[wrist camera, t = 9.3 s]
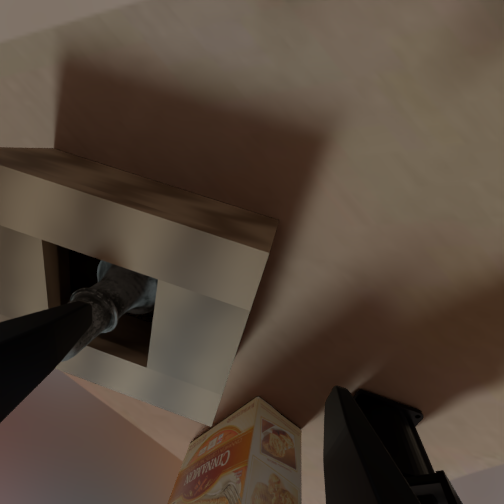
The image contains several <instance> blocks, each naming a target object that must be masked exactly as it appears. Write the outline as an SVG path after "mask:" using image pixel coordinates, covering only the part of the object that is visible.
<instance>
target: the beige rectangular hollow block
mask: <svg viewBox="0 0 504 504" xmlns="http://www.w3.org/2000/svg"><path fill="white" fill-rule="evenodd" d="M278 223H279V220H276V219H273V218H270V217H267V216H264V215H261V214H258V213H254V212H251V211H248V210H245V209H242V208H239V207H236V206H232V205H229V204H226V203H223V202H220V201H217V200H214V199H210V198H207V197H204V196H201V195H198V194H195V193H192V192H188V191H185V190H182V189H179V188H176V187H173V186H170V185H167V184H163V183H160V182H157V181H154V180H151V179H148V178H145V177H141V176H138V175H135V174H132V173H129V172H126V171H123V170H119V169H116V168H113V167H110V166H107V165H104V164H101V163H97V162H94V161H91V160H88V159H85V158H82V157H79V156H75V155H72V154H69V153H66V152H63V151H60V150H57V149H53V148H4V147H0V322H2V321H6V320H10V319H13V318H17V317H20V316H24V315H28V314H31V313H35V312H38V311H42V310H46V309H49V308H53V307H56V306H60V305H64V304H67V303H68V302H70V298H71V296H72V295H71V286H70V265H69V249H71V250H74V251H77V252H80V253H82V254H85V255H88V256H91V257H94V258H97V259H100V260H103V261H106V262H109V263H112V264H115V265H117V266H120V267H123V268H126V269H129V270H132V271H135V272H138V273H141V274H144V275H147V276H150V277H152V278H155V279H158V284H157V291H156V299H155V307H154V315H153V323H149V322H146V321H143V320H141V319H138V318H135V317H132V316H129V315H126V314H123V315H122V316H121V317H120V318H119V319H118V324H117V325H116V327H115V328H114V329H113V330H111V331H110V332H107V333H100V334H99V335H98V336H97V337H96V338H95V339H93V340H92V341H91V342H90V343H89V344H88V345H87V346H86V347H85V348H83V349H82V350H81V351H80V352H79V353H78V354H77V355H75V356H74V357H73V358H71V359H69V360H67V361H63V362H60V363H59V364H58V365H57V366H56V368H55V369H58V370H61V371H63V372H66V373H69V374H71V375H74V376H77V377H79V378H82V379H85V380H87V381H90V382H93V383H95V384H98V385H101V386H103V387H106V388H109V389H111V390H114V391H117V392H119V393H122V394H125V395H127V396H130V397H133V398H135V399H138V400H141V401H143V402H146V403H149V404H151V405H154V406H157V407H159V408H162V409H165V410H167V411H170V412H173V413H175V414H178V415H181V416H183V417H186V418H189V419H191V420H194V421H197V422H199V423H202V424H205V425H207V426H210V427H211V426H212V423H213V420H214V417H215V414H216V411H217V408H218V405H219V402H220V399H221V396H222V394H223V391H224V388H225V385H226V382H227V379H228V376H229V373H230V370H231V367H232V364H233V361H234V358H235V355H236V352H237V349H238V346H239V343H240V340H241V337H242V334H243V331H244V328H245V325H246V322H247V319H248V316H249V313H250V310H251V307H252V304H253V301H254V298H255V295H256V292H257V289H258V286H259V283H260V280H261V277H262V274H263V271H264V268H265V265H266V262H267V259H268V256H269V253H270V250H271V246H272V243H273V240H274V236H275V233H276V229H277V226H278Z"/></svg>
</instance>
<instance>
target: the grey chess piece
mask: <svg viewBox="0 0 504 504" xmlns="http://www.w3.org/2000/svg"><path fill="white" fill-rule="evenodd" d="M97 279H98V283H96V284H95V285H93V286H91V287H90V288H81V289H78V290H76V291H75V292H74V293H73V294H72V296H71V298H70V302H68V303H71V302H74V301H78V300H82V301H85V302H88V303H90V304H91V305H92V313H93V322H92V325H91V326H90V328H89V329H88V330H87V331H86V333H85V334H84V335H83V336H82V337H81V339H80V340H79V341H78V342H77V343H76V345H75V346H74V347H73V348H72V349H71V351H70V352H69V353H68V354H67V355H66V356H65V358H64V359H63V360H62V361H61V362H63V361H67V360H69V359H71V358H73V357H74V356H75V355H77V354H78V353H79V352H80V351H81V350H82V349H83V348H85V347H86V346H87V345H88V344H89V343H90V342H91V341H92V340H93V339H95V338H96V337H97V336H98V335H99V334H100V333H107V332H110V331H111V330H113V329H114V328H115V327H116V325H117V324H118V319H119V318H120V317H121V316H122V315H123V314H124V313H125V312H128V313H132V314H146V313H149V312H151V311H153V310H154V307H155V299H156V291H157V284H158V279H155V278H152V277H150V276H147V275H144V274H141V273H138V272H135V271H132V270H129V269H126V268H123V267H120V266H117V265H115V264H112V263H109V262H106V261H103V260H101V261H100V263H99V265H98V269H97Z"/></svg>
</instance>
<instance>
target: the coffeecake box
mask: <svg viewBox="0 0 504 504" xmlns="http://www.w3.org/2000/svg"><path fill="white" fill-rule="evenodd" d="M168 504H301V429H300V428H298V427H297V426H296V425H294V424H293V423H292V422H290V421H289V420H287V419H286V418H285V417H284V416H282V415H281V414H280V413H279V412H278V411H276V410H275V409H274V408H273V407H272V406H271V405H269V404H268V403H267V402H265V401H264V400H263V399H261V398H260V397H256V398H255V399H253V400H252V401H250V402H249V403H247V404H246V405H245V406H243V407H242V408H240V409H239V410H237V411H236V412H234V413H233V414H232V415H230V416H229V417H227V418H226V419H224V420H223V421H222V422H220V423H219V424H217V425H216V426H214V427H213V428H212V429H210V430H209V431H207V432H206V433H204V434H203V435H202V436H200V437H199V438H197V439H196V440H194V441H193V442H191V443H190V445H189V448H188V450H187V453H186V456H185V458H184V461H183V464H182V467H181V469H180V472H179V474H178V477H177V480H176V482H175V485H174V488H173V491H172V493H171V496H170V498H169V501H168Z"/></svg>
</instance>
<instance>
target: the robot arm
mask: <svg viewBox="0 0 504 504" xmlns="http://www.w3.org/2000/svg"><path fill="white" fill-rule="evenodd" d="M92 322H93V313H92V305H91V304H90V303H88V302H85V301H82V300H78V301H74V302H71V303H67V304H64V305H60V306H56V307H53V308H49V309H46V310H42V311H38V312H35V313H31V314H28V315H24V316H20V317H17V318H13V319H10V320H6V321H2V322H0V423H1V422H2V421H3V420H4V419H5V418H6V417H7V415H9V414H10V412H12V411H13V410H14V409H15V407H17V405H19V403H20V402H22V401H23V400H24V399H25V398H26V397H27V396H28V395H29V394H30V393H31V392H32V391H33V390H34V388H36V387H37V386H38V384H40V383H41V382H42V381H43V380H44V379H45V378H46V377H47V376H48V375H49V374H50V373H51V372H52V371H53V370H54V369H55V368H56V366H57V365H58V364H59V363H60V362H61V361H62V360H63V359H64V358H65V356H66V355H67V354H68V353H69V352H70V351H71V349H72V348H73V347H74V346H75V345H76V343H77V342H78V341H79V340H80V339H81V337H82V336H83V335H84V334H85V333H86V331H87V330H88V329H89V328H90V326H91V325H92ZM422 419H423V414H422V412H421V411H420V410H418V409H415V408H413V407H410V406H407V405H404V404H401V403H398V402H396V401H393V400H390V399H387V398H384V397H381V396H379V395H376V394H373V393H370V392H367V391H364V390H359V391H357V392H356V394H355V395H354V397H353V396H352V395H351V393H350V392H349V391H348V389H346V388H343V387H340V386H334V388H333V389H332V391H331V393H330V395H329V396H328V398H327V400H326V403H325V415H324V449H323V462H324V479H325V494H326V504H463V503H462V502H461V500H460V498H459V497H458V495H457V493H456V491H455V490H454V488H453V487H452V485H451V483H450V481H449V479H448V478H447V476H446V474H445V473H444V471H443V470H442V471H436V473H435V472H434V470H433V468H432V465H431V463H430V460H429V458H428V456H427V453H426V451H425V449H424V446H423V444H422V442H421V439H420V437H419V435H418V432H417V430H416V428H415V427H416V425H417V424H418V423H419V422H420V421H421V420H422Z"/></svg>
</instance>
